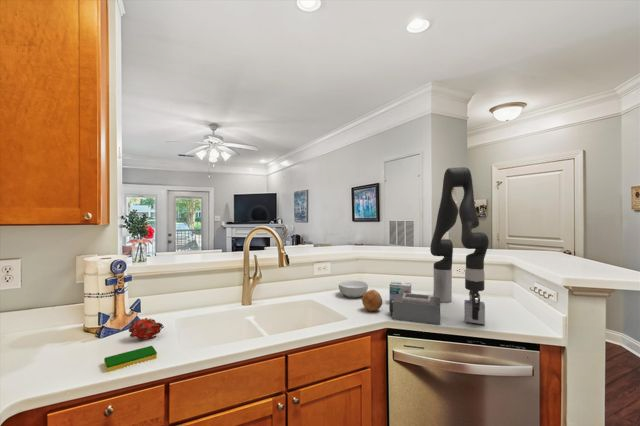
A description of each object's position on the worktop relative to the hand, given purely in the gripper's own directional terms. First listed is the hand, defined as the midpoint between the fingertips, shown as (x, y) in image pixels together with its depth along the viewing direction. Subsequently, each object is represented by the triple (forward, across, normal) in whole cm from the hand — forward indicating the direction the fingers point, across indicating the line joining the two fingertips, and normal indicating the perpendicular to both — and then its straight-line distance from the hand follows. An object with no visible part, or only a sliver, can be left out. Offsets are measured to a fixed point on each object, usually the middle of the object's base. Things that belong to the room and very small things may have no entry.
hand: (474, 317), depth 133 cm
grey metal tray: (+3, 0, -24) cm, 24 cm away
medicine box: (+2, 0, 0) cm, 2 cm away
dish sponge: (+3, +75, -110) cm, 133 cm away
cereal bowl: (+3, -24, -60) cm, 65 cm away
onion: (+3, -2, -45) cm, 45 cm away
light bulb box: (+3, -18, -33) cm, 38 cm away
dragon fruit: (+3, +60, -121) cm, 135 cm away
